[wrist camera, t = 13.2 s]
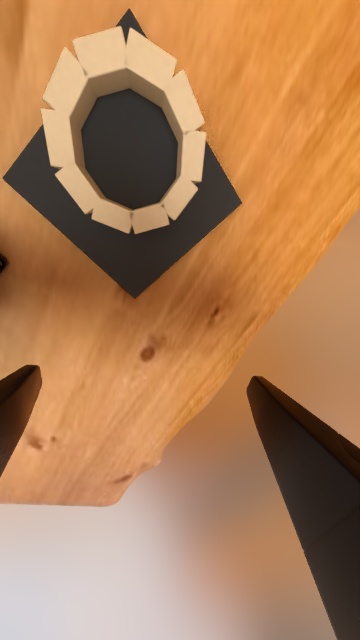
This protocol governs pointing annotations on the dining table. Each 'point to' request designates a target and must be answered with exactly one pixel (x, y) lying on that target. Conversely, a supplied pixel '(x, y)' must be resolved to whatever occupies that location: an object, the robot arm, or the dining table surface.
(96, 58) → the beige segmented ring
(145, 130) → the rubber mat
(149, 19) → the dining table surface
